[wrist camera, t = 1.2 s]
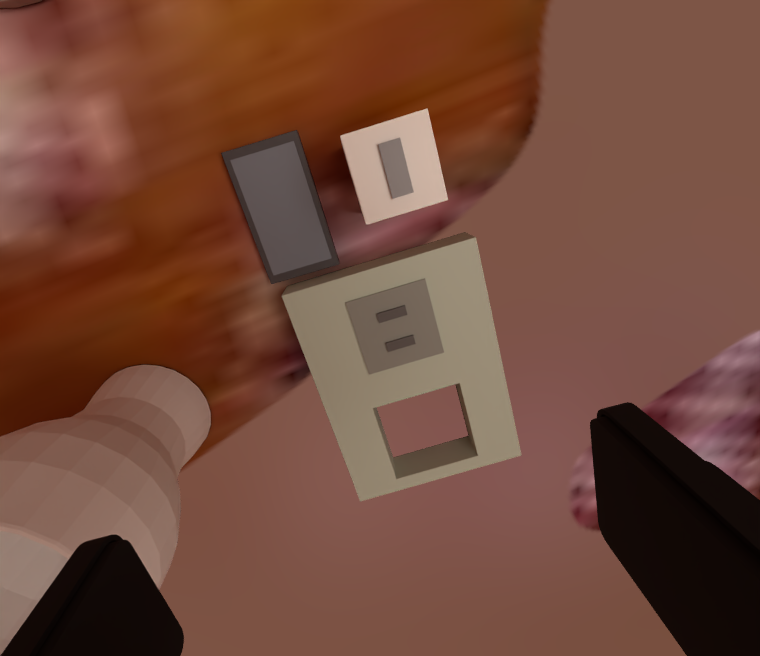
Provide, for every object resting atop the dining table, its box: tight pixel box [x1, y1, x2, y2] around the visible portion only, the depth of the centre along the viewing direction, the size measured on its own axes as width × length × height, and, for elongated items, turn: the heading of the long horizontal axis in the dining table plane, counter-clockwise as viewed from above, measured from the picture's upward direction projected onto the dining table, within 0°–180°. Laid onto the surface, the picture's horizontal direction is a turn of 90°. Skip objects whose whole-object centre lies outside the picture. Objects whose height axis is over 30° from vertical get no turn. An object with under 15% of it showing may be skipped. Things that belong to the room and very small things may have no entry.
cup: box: [0, 365, 211, 655], centre depth 23 cm, size 11×11×15 cm
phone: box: [221, 130, 340, 284], centre depth 26 cm, size 8×4×1 cm, turn 16°
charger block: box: [340, 109, 448, 225], centre depth 23 cm, size 4×4×7 cm
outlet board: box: [282, 232, 521, 501], centre depth 29 cm, size 16×12×3 cm
